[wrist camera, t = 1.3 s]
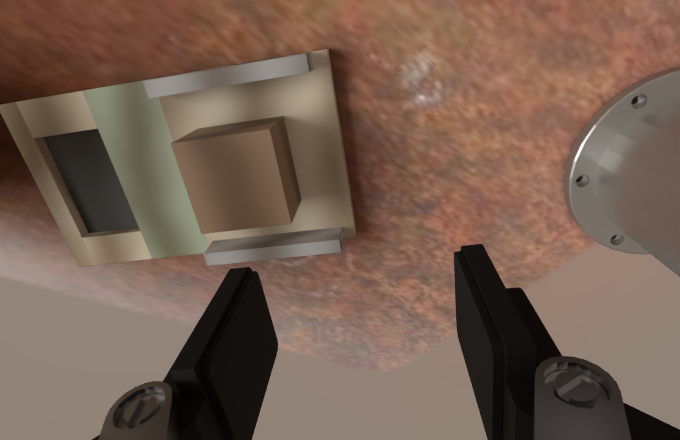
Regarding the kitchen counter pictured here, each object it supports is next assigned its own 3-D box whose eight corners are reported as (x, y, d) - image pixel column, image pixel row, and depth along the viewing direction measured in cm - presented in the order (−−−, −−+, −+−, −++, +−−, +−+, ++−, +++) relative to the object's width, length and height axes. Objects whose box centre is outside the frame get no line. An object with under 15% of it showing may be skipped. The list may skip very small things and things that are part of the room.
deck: (328, 48, 25) (323, 50, 22) (356, 231, 30) (355, 250, 27) (8, 103, 28) (-31, 110, 25) (86, 260, 33) (61, 280, 30)
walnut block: (283, 115, 26) (269, 129, 22) (301, 199, 28) (291, 224, 25) (197, 128, 26) (170, 143, 23) (222, 209, 29) (201, 234, 25)
